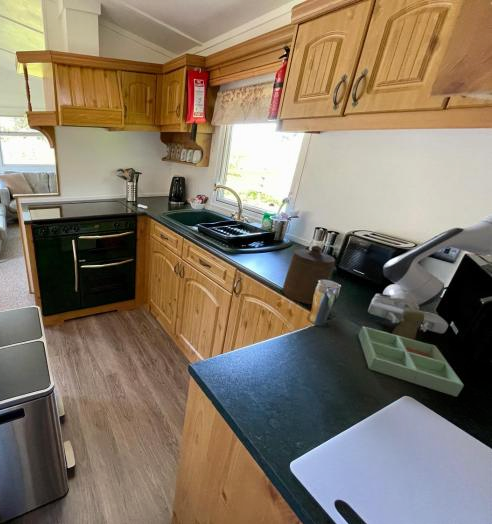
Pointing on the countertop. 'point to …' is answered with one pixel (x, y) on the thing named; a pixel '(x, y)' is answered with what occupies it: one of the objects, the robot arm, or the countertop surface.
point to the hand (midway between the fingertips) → (409, 325)
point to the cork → (409, 324)
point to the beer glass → (323, 301)
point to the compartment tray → (409, 361)
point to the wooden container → (306, 273)
